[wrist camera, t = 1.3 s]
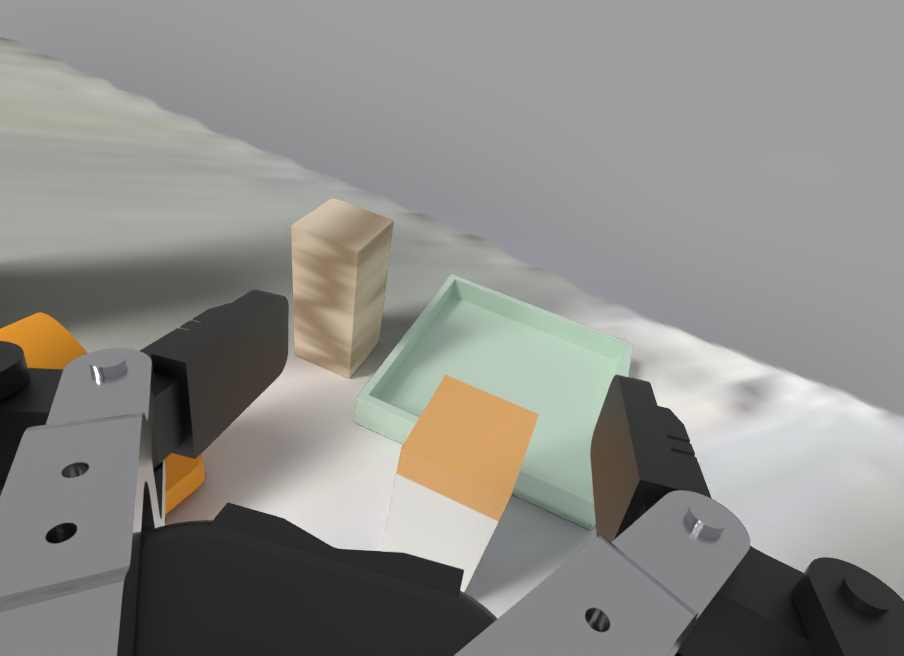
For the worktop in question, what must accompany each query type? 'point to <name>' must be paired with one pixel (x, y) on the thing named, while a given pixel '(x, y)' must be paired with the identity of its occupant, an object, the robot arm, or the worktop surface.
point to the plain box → (339, 284)
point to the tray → (506, 383)
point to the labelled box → (457, 475)
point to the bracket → (58, 348)
